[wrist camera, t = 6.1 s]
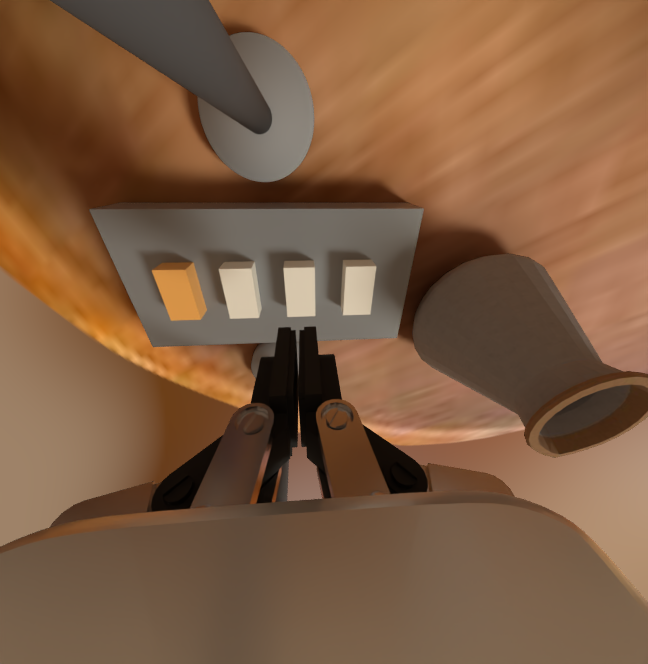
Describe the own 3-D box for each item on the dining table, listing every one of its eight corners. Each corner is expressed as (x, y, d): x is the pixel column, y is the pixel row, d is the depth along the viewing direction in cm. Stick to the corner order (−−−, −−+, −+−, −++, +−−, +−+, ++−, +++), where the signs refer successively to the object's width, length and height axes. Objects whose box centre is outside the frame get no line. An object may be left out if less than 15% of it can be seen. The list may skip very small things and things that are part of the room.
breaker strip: (407, 202, 18) (433, 212, 15) (387, 319, 24) (402, 347, 20) (119, 202, 17) (70, 213, 13) (169, 326, 23) (143, 358, 19)
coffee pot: (390, 353, 26) (470, 522, 14) (420, 241, 20) (613, 367, 8) (574, 352, 28) (786, 500, 16) (653, 250, 22) (1107, 361, 10)
